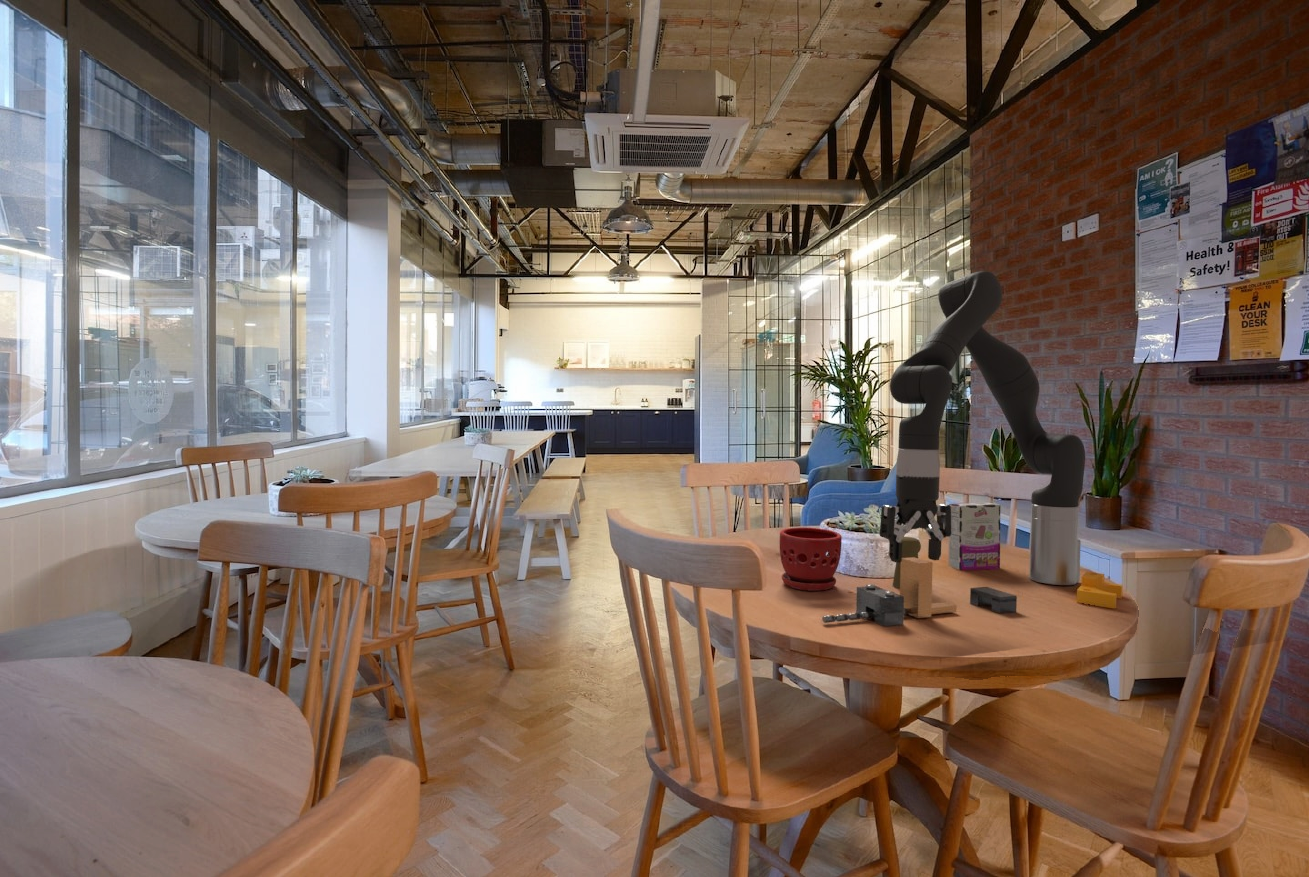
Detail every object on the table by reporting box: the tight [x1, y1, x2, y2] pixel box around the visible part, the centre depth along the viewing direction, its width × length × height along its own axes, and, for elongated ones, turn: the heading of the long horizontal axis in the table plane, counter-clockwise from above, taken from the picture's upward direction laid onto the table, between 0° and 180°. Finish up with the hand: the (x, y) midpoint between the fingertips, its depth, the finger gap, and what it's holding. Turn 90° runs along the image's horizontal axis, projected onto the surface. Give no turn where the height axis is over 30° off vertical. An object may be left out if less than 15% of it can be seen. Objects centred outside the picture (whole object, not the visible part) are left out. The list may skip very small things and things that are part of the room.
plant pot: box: [779, 526, 842, 592], centre depth 148 cm, size 13×13×12 cm
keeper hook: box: [969, 586, 1018, 614], centre depth 133 cm, size 4×7×3 cm, turn 19°
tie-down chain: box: [821, 557, 957, 624], centre depth 125 cm, size 28×5×10 cm, turn 109°
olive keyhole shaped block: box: [892, 536, 922, 590], centre depth 148 cm, size 6×6×11 cm
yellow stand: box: [1076, 571, 1123, 609], centre depth 140 cm, size 12×4×6 cm
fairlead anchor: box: [855, 583, 905, 627], centre depth 124 cm, size 4×8×6 cm, turn 19°
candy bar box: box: [948, 502, 1001, 571], centre depth 167 cm, size 11×5×16 cm, turn 102°
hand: (914, 560), depth 127 cm, fingers open, 8 cm apart
